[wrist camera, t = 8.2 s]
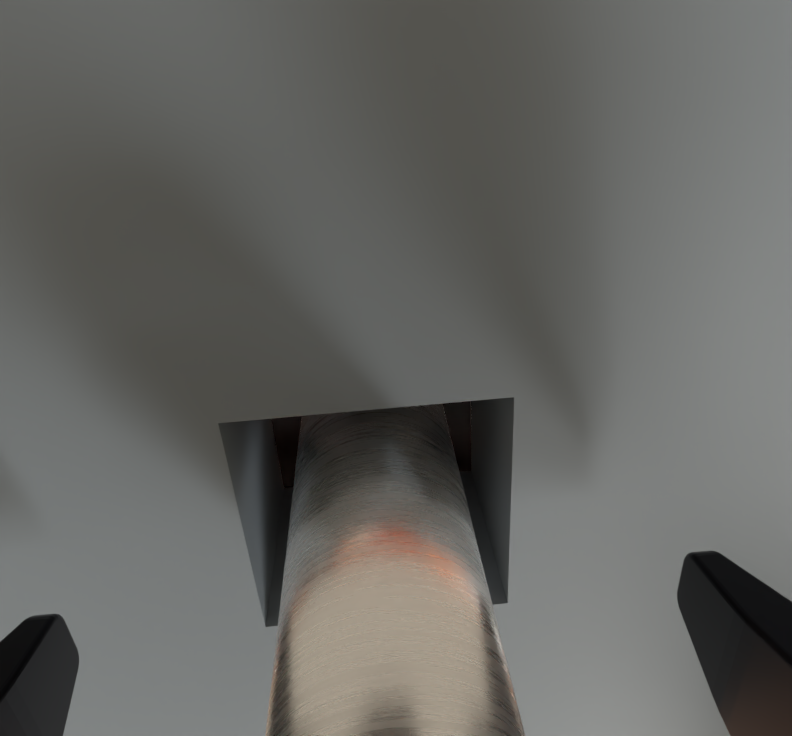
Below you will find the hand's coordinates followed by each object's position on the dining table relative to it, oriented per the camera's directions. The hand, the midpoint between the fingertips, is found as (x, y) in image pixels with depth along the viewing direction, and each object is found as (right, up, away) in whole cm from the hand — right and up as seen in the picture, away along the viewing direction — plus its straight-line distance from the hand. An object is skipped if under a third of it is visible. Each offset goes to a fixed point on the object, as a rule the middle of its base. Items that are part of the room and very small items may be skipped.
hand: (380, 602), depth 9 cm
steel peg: (0, +3, +5) cm, 6 cm away
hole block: (0, +3, +5) cm, 6 cm away
